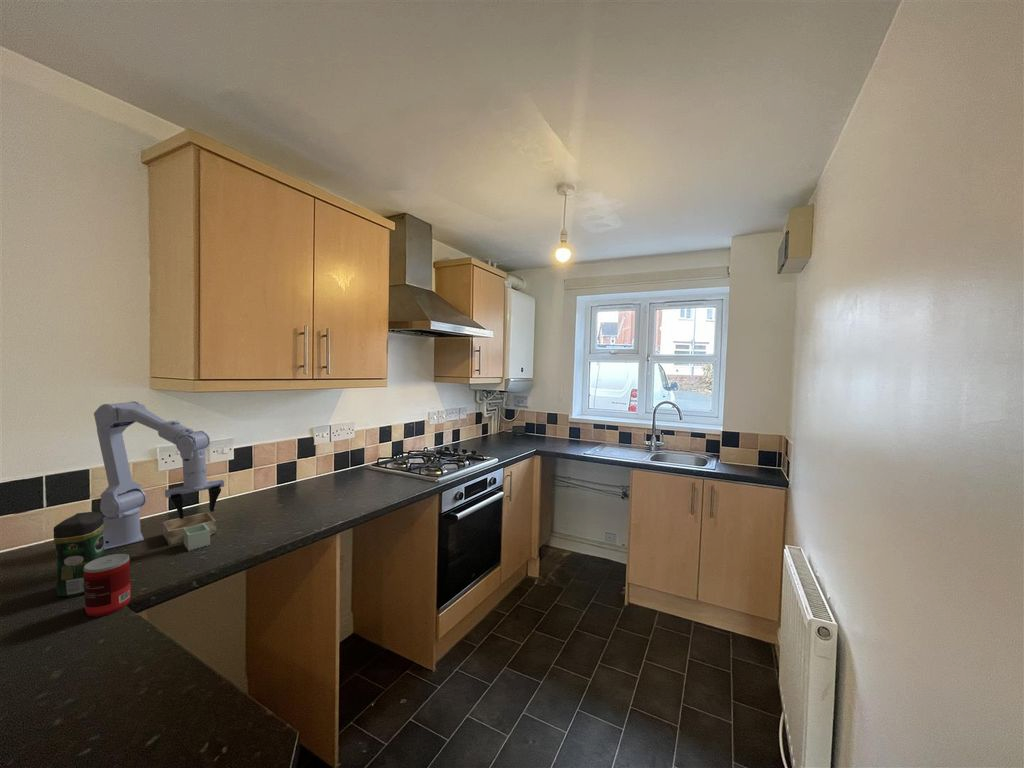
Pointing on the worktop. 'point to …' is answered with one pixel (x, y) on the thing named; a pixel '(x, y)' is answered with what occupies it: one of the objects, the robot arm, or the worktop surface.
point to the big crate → (186, 526)
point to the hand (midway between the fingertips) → (196, 514)
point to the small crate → (196, 537)
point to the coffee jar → (77, 549)
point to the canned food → (107, 584)
